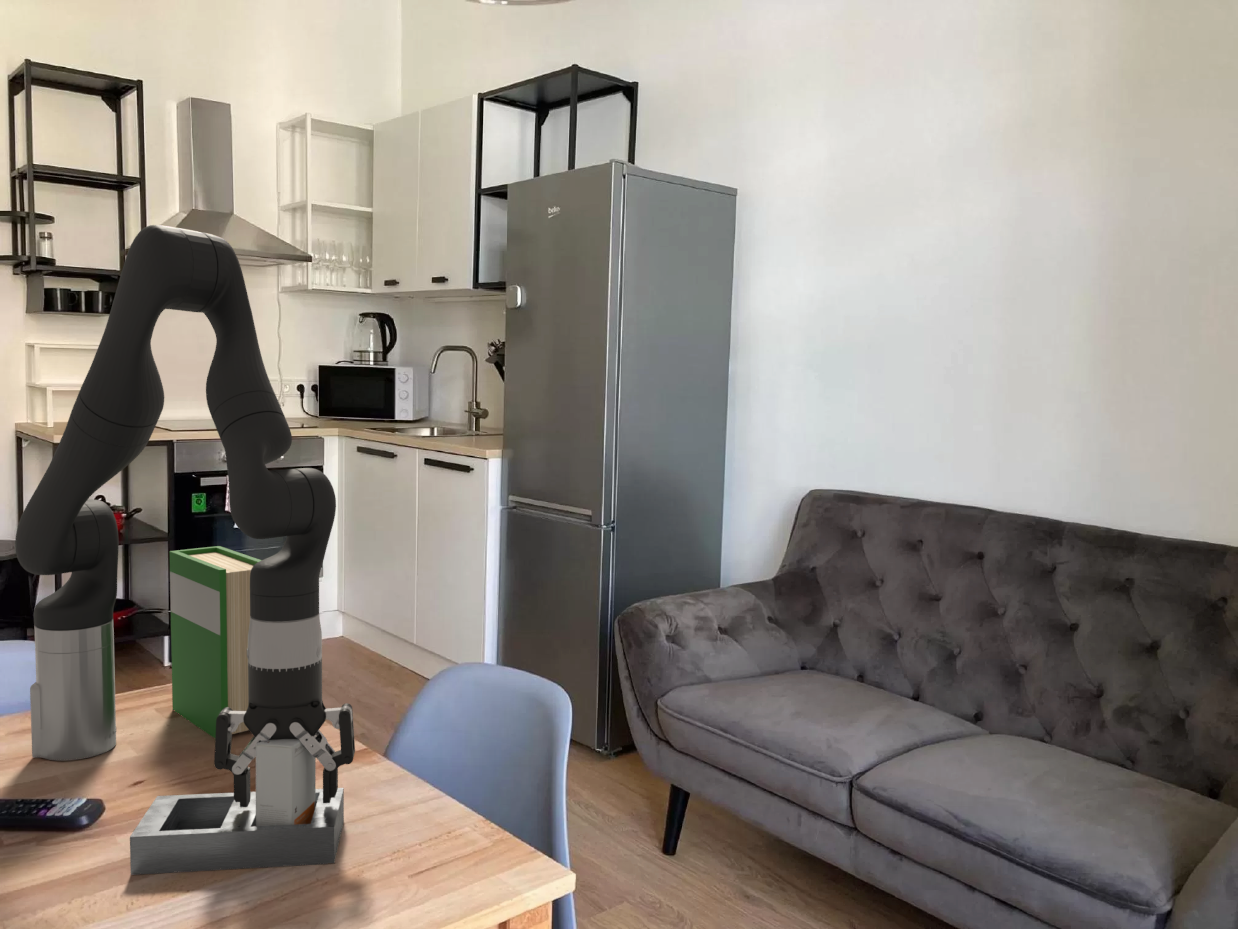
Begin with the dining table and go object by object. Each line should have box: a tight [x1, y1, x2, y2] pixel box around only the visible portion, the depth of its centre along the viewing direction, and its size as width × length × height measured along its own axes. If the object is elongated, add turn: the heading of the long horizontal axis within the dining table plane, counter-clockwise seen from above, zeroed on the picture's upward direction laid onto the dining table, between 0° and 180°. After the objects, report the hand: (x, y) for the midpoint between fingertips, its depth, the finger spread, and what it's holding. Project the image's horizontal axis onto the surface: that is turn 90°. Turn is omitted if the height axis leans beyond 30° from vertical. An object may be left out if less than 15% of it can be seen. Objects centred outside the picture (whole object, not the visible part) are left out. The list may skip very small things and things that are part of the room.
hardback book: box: [169, 545, 262, 739], centre depth 148 cm, size 18×7×24 cm, turn 44°
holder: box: [129, 787, 345, 876], centre depth 111 cm, size 20×10×4 cm, turn 99°
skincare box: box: [255, 735, 317, 826], centre depth 111 cm, size 6×4×12 cm
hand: (286, 802), depth 111 cm, fingers open, 8 cm apart
